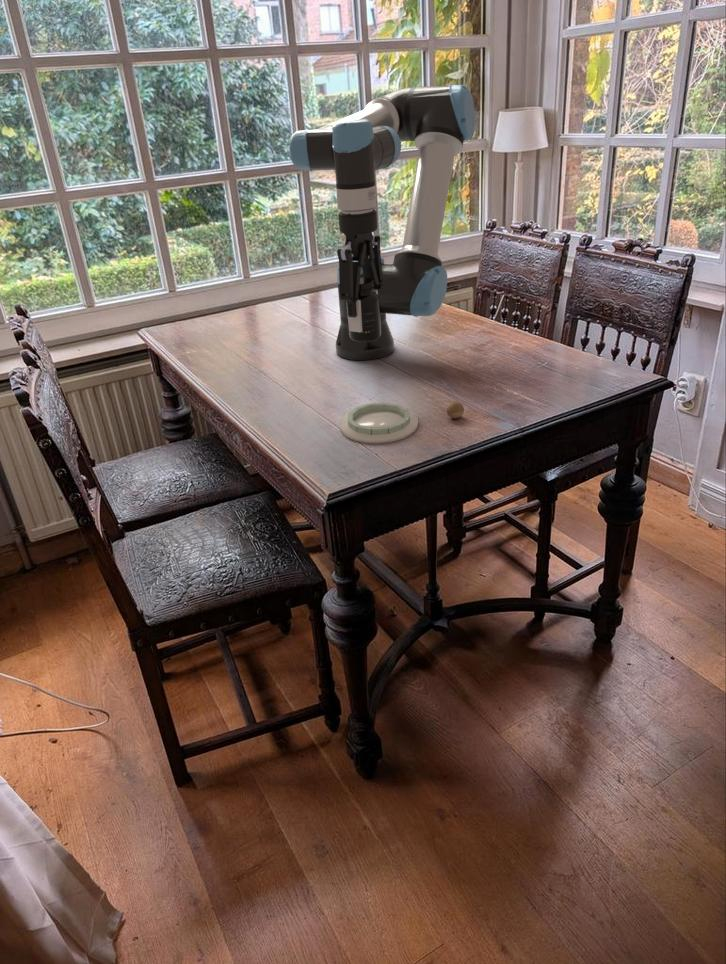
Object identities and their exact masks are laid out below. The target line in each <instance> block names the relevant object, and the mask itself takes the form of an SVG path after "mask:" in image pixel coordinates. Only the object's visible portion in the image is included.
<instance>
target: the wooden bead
mask: <svg viewBox="0 0 726 964" xmlns="http://www.w3.org/2000/svg"><path fill="white" fill-rule="evenodd" d="M464 411H465V408H464V405H463V404H462V403H461V402H459V401H451V402H450V403H448V405H447V407H446V413H447V416H448V417H450V418H452V419H453V420H454V419H457V420H458V419H460V418H462V416H463V415H464Z"/></svg>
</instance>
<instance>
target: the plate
mask: <svg viewBox="0 0 726 964" xmlns="http://www.w3.org/2000/svg"><path fill="white" fill-rule="evenodd" d="M418 428H419V416H418V415H417V414H416V412H414V411H412V410H411V409H409V408H406V407H404V406H402V405H401V404H397V403H390V402H373V403H372V402H370V403H365V404H363V405H360V406H355V408H353V409H352V410H350V411H348V412H346V413H345V414H344V415H342V417H341V418H340V420H339V430H340V432H341V434H342V435H343V436H345V438H347V439H349V440H352V441H355V442H359V443H364V444H387V443H393V442H398V441H400V440H403V439H405V438H407V437H410V436H411V435H413V434H414V433H415V432H416V431H417V429H418Z"/></svg>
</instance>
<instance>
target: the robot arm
mask: <svg viewBox="0 0 726 964" xmlns="http://www.w3.org/2000/svg"><path fill="white" fill-rule="evenodd" d="M475 129H476V115H475V105H474V98H473V96H472V93H471V90H470V88H468V86H466V85H465V84H452V83H449V84H447V85H446V84H445V85H432V86H431V85H430V86H426V85H425V86H410V87H404V88H400V89H397V90H394V91H392V92H389V93H386V94H384V95H382V96H379V97H377V98H375V99H373V100H370V101H369V102H368V103H367V104H366V106H365V108H364V109H362V110H359V111H357V112H354V113H353V114H350V115H348V116H345V117H343V118H340V119H338V120H335V121H333V122H331V123H329V124H326V125H324V126H321V127H318V128H316V129H308V128H306V129H303V130H296V131H295V132H294V133H293V134H292V135H291V137H290V141H289V156H290V159H291V163H292V165H293V167H295V168H296V169H298V170H300V171H309V172H313V171H334V173H335V182H336V183H335V185H336V189H335V190H336V204H337V210H338V211H339V213H338V214H337V215H338V227H339V232H340V233H341V234H343V235H344V237H345V240H344V241H345V242H344V247H343V248H338V249H337V251H336V254H337V258H338V263H339V264H338V267H337V270H336V271H337V272H336V275H337V276H336V277H337V278H336V285H337V293H338V295H337V296H338V305H339V314H340V319H339V320H340V325H339V329H338V333H337V337H336V342H335V353H336V355H338V356H339V357H340V358H343V359H345V360H346V359H347V360H353V361H368V360H369V361H370V360H376V359H380V358H383V357H386V356H389V355H390V354H392V353H393V352H394V350H395V342H394V341H395V340H394V337H393V334H392V332H391V330H390V327H389V324H388V321H387V314H389V315H401V316H411V317H415V318H417V317H431V316H433V315H435V314H436V313H437V312H438V311H439V310H440V308H441V306H442V305H443V302H444V299H445V296H446V294H447V288H448V283H447V282H448V273H447V270H446V269H445V267H443V260H442V259H441V257H440V256H439V255H438V252H439V246H440V242H441V235H442V229H443V224H444V218H445V213H446V206H447V200H448V196H449V195H448V194H449V189H450V185H451V180H452V172H453V166H454V162H455V161H454V160H455V157H456V156H458V155H459V154H460V153H461V152H462V151H463V147H464V146H463V145H464V143H465V142H464V141H466V142H468V141H469V140H472V139H473V136H474V134H475ZM401 142H413V143H414V146H415V147H416V149H417V150H418V155H417V161H416V167H415V172H414V173H415V174H414V179H413V184H412V185H413V186H412V192H411V196H410V202H409V208H408V213H407V219H406V225H405V231H404V236H403V243H402V248H401V249H400V250H398V251H397V252H396V253H395V254H394V257H393V262H392V264H391V263H389V264H388V263H385V259H384V257H383V256H382V254H381V236H380V235H379V234H378V235H376V234H375V235H374V234H373V233H374V232H376V231H377V230H378V212H377V210H375V208H376V207H377V198H376V197H377V194H378V193H377V191H376V172H375V171H379V170H382V169H387V168H388V167H390V166H391V165H393V164H394V163H396V162H397V160H398V158H399V157H400V154H401V151H402V150H401V149H402V144H401ZM360 278H370V279H372V280H373V285H374V290H373V291H374V292H375V293H377V295H378V296H379V304H380V322H381V336H380V337H379V338H378V339H376V340H374V341H369V342H357V341H354V340H352V339H351V338H350V336H349V331H353V332H362V317H361V301H360V300H358V293H359V283H360ZM347 308H348V313H347ZM348 320H349V325H348Z"/></svg>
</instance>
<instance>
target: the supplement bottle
mask: <svg viewBox="0 0 726 964" xmlns="http://www.w3.org/2000/svg"><path fill="white" fill-rule="evenodd" d="M373 290H374V285H373V280H372V279H370V278H360V283H359V293H358V300H360V301H361V317H362V332H353V331H349V336H350V338H351V339H352V340H354V341H357V342H369V341H374V340H376V339H378V338H379V337H380V336H381V322H380V304H379V296H378V295H377V293H375V292H374V291H373ZM347 313H348V308H347ZM348 325H349V320H348Z"/></svg>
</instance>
